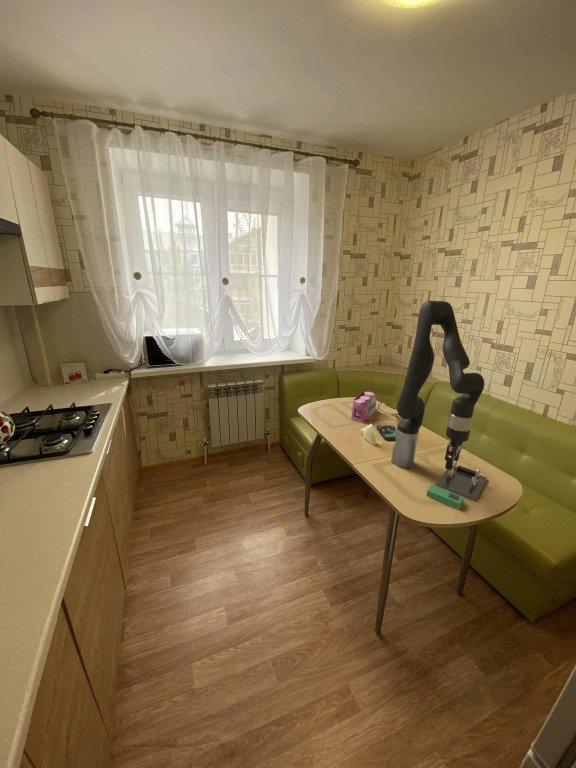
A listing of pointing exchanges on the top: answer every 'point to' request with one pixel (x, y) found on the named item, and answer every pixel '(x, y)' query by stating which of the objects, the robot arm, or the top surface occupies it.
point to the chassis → (462, 481)
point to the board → (445, 496)
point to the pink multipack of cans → (364, 406)
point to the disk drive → (387, 432)
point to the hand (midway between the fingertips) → (451, 464)
